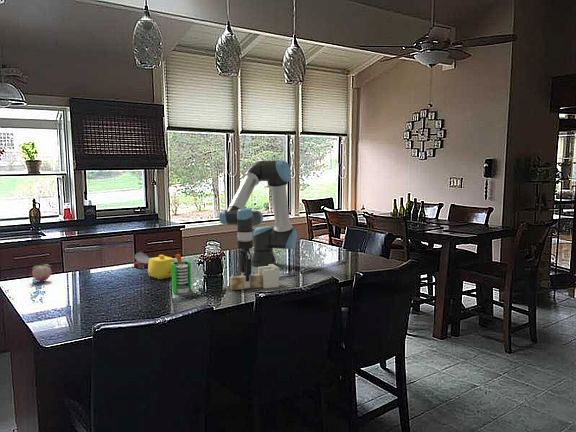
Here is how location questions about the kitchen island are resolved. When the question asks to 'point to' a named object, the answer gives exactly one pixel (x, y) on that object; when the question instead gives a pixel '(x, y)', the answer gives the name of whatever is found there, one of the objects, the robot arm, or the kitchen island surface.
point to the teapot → (160, 267)
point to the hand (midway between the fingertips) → (245, 286)
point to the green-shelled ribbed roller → (181, 275)
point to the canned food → (141, 260)
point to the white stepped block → (269, 275)
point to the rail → (238, 281)
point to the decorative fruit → (41, 272)
